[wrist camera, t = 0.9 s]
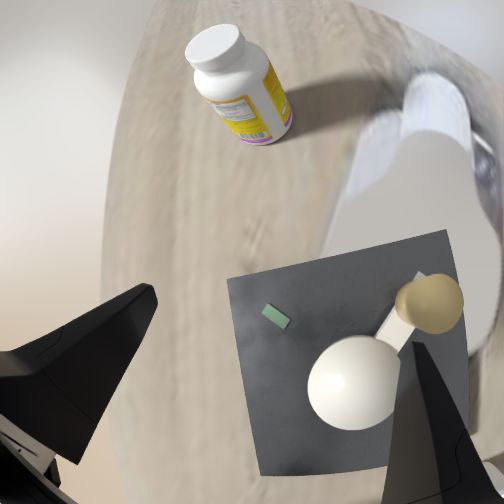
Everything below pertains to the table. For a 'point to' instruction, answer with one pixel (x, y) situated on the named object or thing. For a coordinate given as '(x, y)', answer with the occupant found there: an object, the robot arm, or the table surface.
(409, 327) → the beige rounded piece
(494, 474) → the shot glass
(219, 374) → the table surface
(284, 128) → the supplement bottle
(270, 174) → the table surface
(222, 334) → the table surface
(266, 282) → the base
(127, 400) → the table surface
